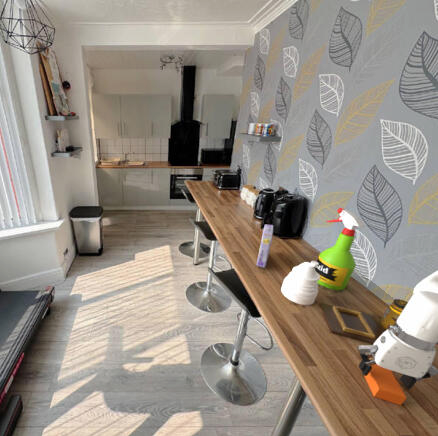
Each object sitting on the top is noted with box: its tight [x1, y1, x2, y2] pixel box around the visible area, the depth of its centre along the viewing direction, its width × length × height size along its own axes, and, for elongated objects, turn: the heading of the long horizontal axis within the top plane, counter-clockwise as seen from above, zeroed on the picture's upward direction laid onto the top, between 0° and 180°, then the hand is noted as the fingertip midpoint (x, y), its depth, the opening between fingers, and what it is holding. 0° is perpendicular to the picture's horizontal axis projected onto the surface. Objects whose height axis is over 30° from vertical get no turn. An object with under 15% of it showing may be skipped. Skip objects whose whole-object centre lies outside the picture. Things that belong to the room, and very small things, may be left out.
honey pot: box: [280, 260, 320, 306], centre depth 100 cm, size 13×13×18 cm
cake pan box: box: [255, 224, 274, 269], centre depth 126 cm, size 19×5×18 cm, turn 152°
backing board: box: [319, 302, 383, 345], centre depth 89 cm, size 17×15×2 cm
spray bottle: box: [314, 207, 365, 291], centre depth 108 cm, size 14×18×35 cm
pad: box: [363, 364, 408, 406], centre depth 68 cm, size 6×9×4 cm, turn 159°
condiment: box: [379, 298, 409, 331], centre depth 87 cm, size 7×8×12 cm
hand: (382, 377), depth 67 cm, fingers open, 9 cm apart
